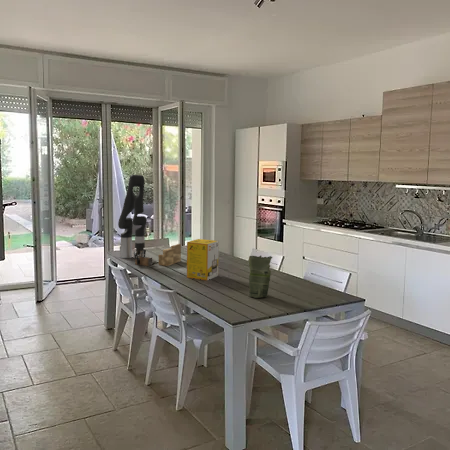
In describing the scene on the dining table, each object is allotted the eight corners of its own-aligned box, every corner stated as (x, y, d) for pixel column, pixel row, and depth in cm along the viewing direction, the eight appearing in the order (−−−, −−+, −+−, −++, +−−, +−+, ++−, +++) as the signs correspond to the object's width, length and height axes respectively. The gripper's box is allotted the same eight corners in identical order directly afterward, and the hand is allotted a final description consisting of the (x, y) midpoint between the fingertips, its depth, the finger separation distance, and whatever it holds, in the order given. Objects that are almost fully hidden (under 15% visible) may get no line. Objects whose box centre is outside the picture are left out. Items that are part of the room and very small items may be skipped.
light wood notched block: (158, 265, 357) (158, 247, 355) (172, 260, 376) (172, 243, 374) (167, 266, 354) (167, 248, 352) (180, 261, 373) (180, 244, 371)
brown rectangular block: (135, 264, 358) (135, 257, 357) (138, 263, 362) (138, 256, 361) (149, 266, 353) (149, 258, 352) (152, 265, 357) (152, 257, 356)
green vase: (245, 295, 278) (246, 254, 275) (261, 292, 284) (262, 252, 281) (256, 300, 269) (257, 257, 265) (272, 297, 275) (274, 256, 272)
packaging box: (198, 272, 333) (198, 238, 330) (218, 275, 326) (218, 240, 323) (186, 277, 319) (186, 242, 316) (207, 280, 312) (207, 244, 309)
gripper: (141, 240, 364) (141, 261, 367) (130, 242, 352) (130, 264, 354) (149, 241, 361) (149, 262, 364) (138, 243, 349) (138, 265, 351)
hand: (140, 263), depth 359 cm, fingers closed on brown rectangular block, 4 cm apart
